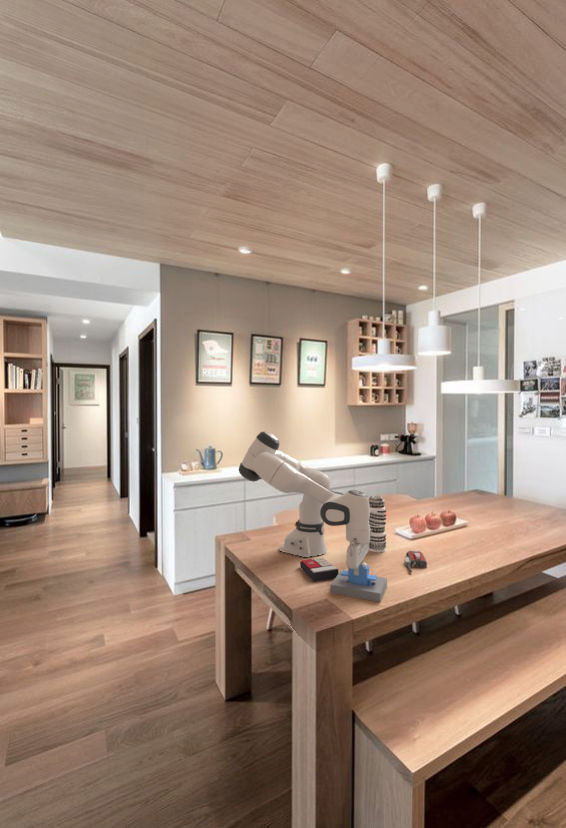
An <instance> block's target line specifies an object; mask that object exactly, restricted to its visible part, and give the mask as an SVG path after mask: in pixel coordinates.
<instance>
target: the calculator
mask: <svg viewBox="0 0 566 828" xmlns="http://www.w3.org/2000/svg"><path fill="white" fill-rule="evenodd" d="M299 564H300V566H299V567H301V568H302V569H303V570H302V569H301V568H300V569H301V570H302V571H303V573H305V574H306V575H307V576H308V578H309V579H310V578H311V579H310V581H312V582H313V583H316V582H317V581H318V582H323V581H329V580H334V579H335V578H336V577H337V575H338V574H339V572H340V571H339V568H337V567H336V566H335V565H334V564H333V563H331V562H330V561H328V560H327V559H326V558H325V557H321V556H320V557H314V558H309V559H308V558H307V559H302V560H301V561H299ZM318 582H317V583H318Z"/></svg>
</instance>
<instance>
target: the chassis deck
mask: <svg viewBox="0 0 566 828" xmlns="http://www.w3.org/2000/svg"><path fill="white" fill-rule="evenodd" d="M342 571H343V570H340V571H339V574H338V575H337V577H336V578H335V579H333V581H332V582H331V583H330V593H331V594H336V595H341V596H346V597H352V598H356V599H363V600H368V601H373V602H377V603H378V602H379V603H381V601H382V599H383V597H384V594H385V592H386V590H387V588H388V578H387V577H381V576H380V577H379V576H377V579H376V581H371V585H369V586H365V585H359V584H354V583H348V576H342V575H340V574H341V572H342Z"/></svg>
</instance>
